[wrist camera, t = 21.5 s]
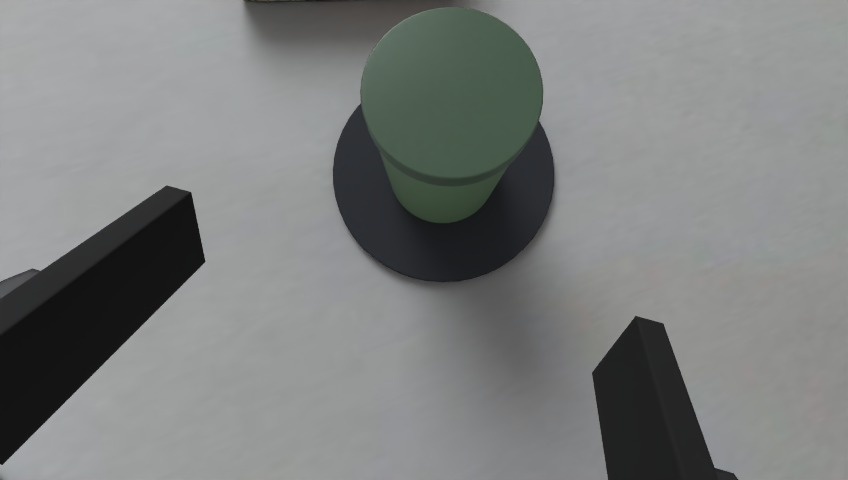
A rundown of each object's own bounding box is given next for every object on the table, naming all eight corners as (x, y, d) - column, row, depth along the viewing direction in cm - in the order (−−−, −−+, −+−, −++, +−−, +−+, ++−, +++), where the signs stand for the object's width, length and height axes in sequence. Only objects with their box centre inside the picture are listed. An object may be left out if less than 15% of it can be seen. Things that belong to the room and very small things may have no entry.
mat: (548, 70, 29) (550, 67, 28) (555, 282, 27) (558, 282, 26) (338, 70, 29) (336, 66, 29) (330, 281, 27) (328, 281, 27)
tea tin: (496, 118, 28) (540, 5, 17) (498, 225, 27) (546, 179, 16) (388, 118, 28) (362, 5, 17) (385, 225, 27) (357, 178, 16)
